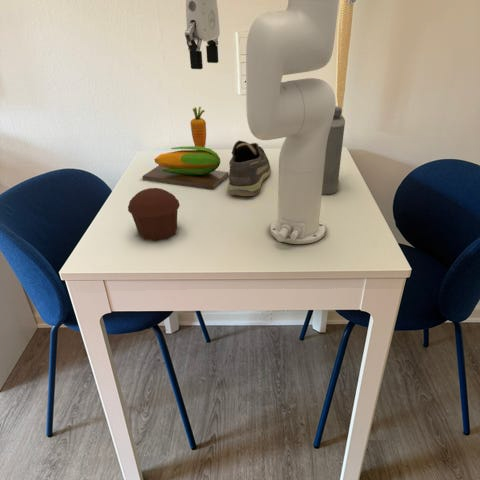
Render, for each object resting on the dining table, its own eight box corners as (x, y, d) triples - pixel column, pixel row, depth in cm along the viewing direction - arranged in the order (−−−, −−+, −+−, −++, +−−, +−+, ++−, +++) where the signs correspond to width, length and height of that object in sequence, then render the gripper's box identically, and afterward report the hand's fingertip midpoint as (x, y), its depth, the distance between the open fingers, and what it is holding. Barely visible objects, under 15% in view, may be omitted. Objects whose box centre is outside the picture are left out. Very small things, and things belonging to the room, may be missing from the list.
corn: (217, 150, 122) (147, 149, 125) (218, 178, 126) (151, 176, 129) (221, 144, 128) (155, 143, 131) (222, 170, 132) (158, 169, 135)
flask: (339, 194, 118) (349, 115, 106) (318, 194, 118) (325, 115, 106) (334, 174, 130) (342, 100, 117) (314, 174, 130) (320, 100, 118)
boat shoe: (271, 162, 139) (272, 126, 133) (266, 200, 117) (267, 159, 110) (237, 162, 140) (236, 126, 134) (226, 199, 118) (224, 159, 111)
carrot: (202, 151, 150) (198, 103, 140) (211, 154, 146) (207, 106, 137) (190, 154, 147) (185, 106, 138) (199, 158, 144) (194, 109, 135)
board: (212, 189, 123) (212, 185, 123) (143, 179, 131) (142, 175, 130) (228, 175, 131) (228, 171, 131) (161, 167, 138) (161, 163, 138)
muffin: (185, 220, 108) (180, 181, 102) (180, 242, 100) (175, 200, 94) (137, 222, 109) (129, 182, 102) (128, 244, 100) (119, 202, 94)
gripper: (197, -14, 99) (203, 72, 110) (227, -17, 112) (230, 60, 122) (168, -13, 102) (177, 71, 112) (201, -16, 114) (206, 60, 125)
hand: (205, 65), depth 117 cm, fingers open, 9 cm apart
